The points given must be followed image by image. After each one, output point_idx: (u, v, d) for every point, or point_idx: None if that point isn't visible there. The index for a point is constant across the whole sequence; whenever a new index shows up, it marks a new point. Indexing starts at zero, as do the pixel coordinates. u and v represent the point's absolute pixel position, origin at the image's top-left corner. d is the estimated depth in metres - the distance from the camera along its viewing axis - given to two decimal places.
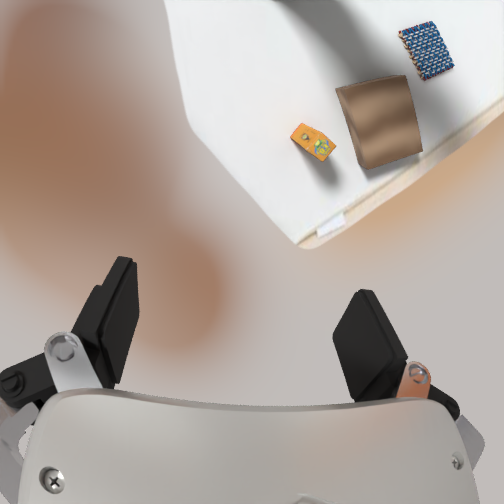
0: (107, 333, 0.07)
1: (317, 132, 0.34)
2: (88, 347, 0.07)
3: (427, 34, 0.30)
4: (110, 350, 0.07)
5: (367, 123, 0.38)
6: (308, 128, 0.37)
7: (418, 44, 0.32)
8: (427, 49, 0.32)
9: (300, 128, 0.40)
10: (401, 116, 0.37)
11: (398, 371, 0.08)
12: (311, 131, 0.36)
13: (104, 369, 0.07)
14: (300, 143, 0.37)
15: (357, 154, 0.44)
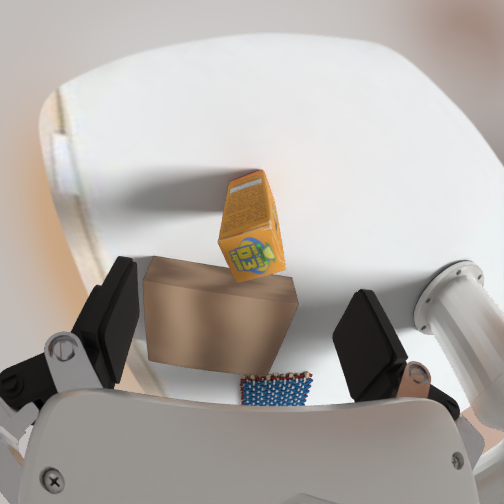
0: (107, 333, 0.07)
1: None
2: (88, 347, 0.07)
3: (293, 399, 0.40)
4: (110, 350, 0.07)
5: (224, 312, 0.25)
6: (278, 224, 0.20)
7: None
8: (277, 394, 0.39)
9: (273, 199, 0.22)
10: (212, 355, 0.29)
11: (398, 371, 0.08)
12: (280, 236, 0.18)
13: (104, 369, 0.07)
14: (269, 201, 0.17)
15: (171, 263, 0.26)
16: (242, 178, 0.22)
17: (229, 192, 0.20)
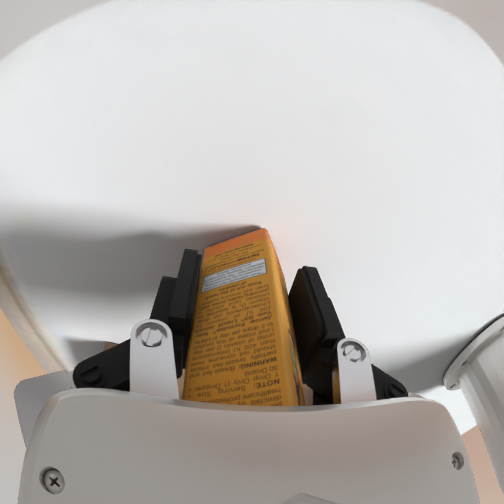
0: (192, 318, 0.08)
1: None
2: (171, 333, 0.08)
3: None
4: (190, 335, 0.09)
5: None
6: (297, 353, 0.10)
7: None
8: None
9: (284, 285, 0.12)
10: None
11: (334, 348, 0.09)
12: (303, 400, 0.08)
13: (183, 354, 0.09)
14: (286, 352, 0.07)
15: None
16: (227, 247, 0.12)
17: (202, 287, 0.11)
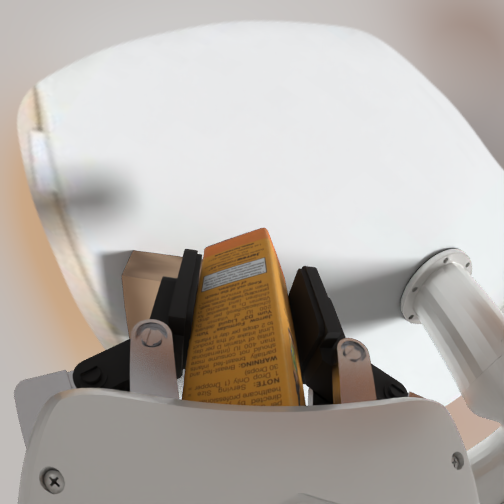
0: (192, 318, 0.08)
1: None
2: (171, 333, 0.08)
3: None
4: (190, 335, 0.09)
5: None
6: (297, 352, 0.10)
7: None
8: None
9: (284, 284, 0.12)
10: None
11: (334, 348, 0.09)
12: (303, 399, 0.08)
13: (183, 354, 0.09)
14: (286, 350, 0.07)
15: (150, 257, 0.25)
16: (228, 246, 0.12)
17: (202, 286, 0.11)
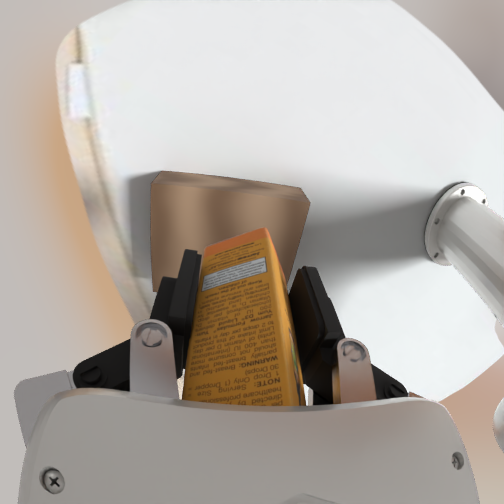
0: (192, 318, 0.08)
1: None
2: (171, 333, 0.08)
3: None
4: (190, 335, 0.09)
5: (235, 215, 0.25)
6: None
7: None
8: None
9: (284, 284, 0.12)
10: None
11: (334, 348, 0.09)
12: (304, 399, 0.08)
13: (183, 354, 0.09)
14: (287, 350, 0.07)
15: (179, 174, 0.25)
16: (228, 246, 0.12)
17: (202, 286, 0.10)
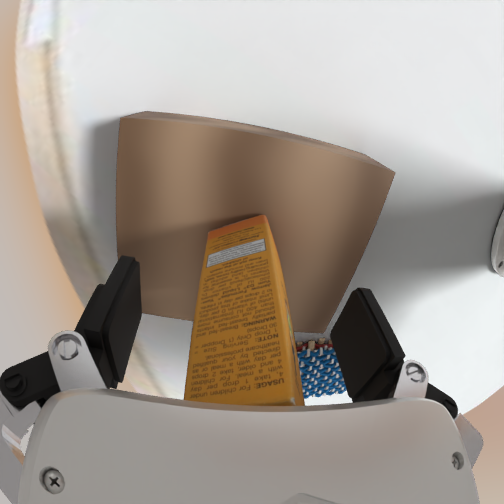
0: (111, 332, 0.07)
1: None
2: (92, 346, 0.07)
3: (339, 379, 0.28)
4: (114, 349, 0.07)
5: (270, 182, 0.13)
6: None
7: (337, 362, 0.26)
8: (320, 372, 0.27)
9: (280, 266, 0.14)
10: None
11: (395, 369, 0.08)
12: (298, 364, 0.09)
13: (107, 368, 0.07)
14: (284, 313, 0.08)
15: (174, 114, 0.14)
16: (230, 230, 0.13)
17: (207, 263, 0.12)
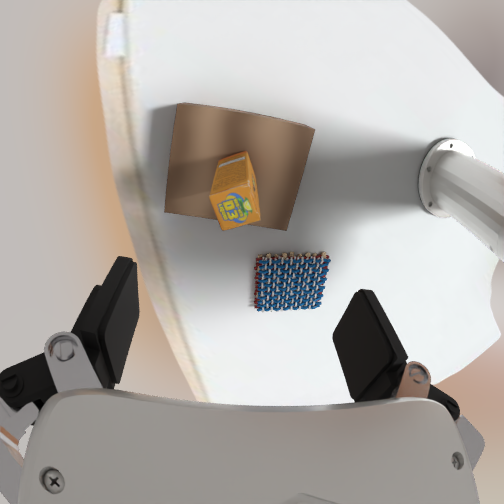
0: (107, 333, 0.07)
1: (259, 212, 0.21)
2: (88, 347, 0.07)
3: (309, 291, 0.41)
4: (110, 350, 0.07)
5: (249, 135, 0.26)
6: (257, 191, 0.24)
7: (305, 272, 0.39)
8: (293, 282, 0.40)
9: (254, 174, 0.27)
10: None
11: (398, 371, 0.08)
12: (257, 198, 0.22)
13: (104, 369, 0.07)
14: (249, 170, 0.22)
15: (200, 104, 0.27)
16: (229, 157, 0.27)
17: (218, 166, 0.25)
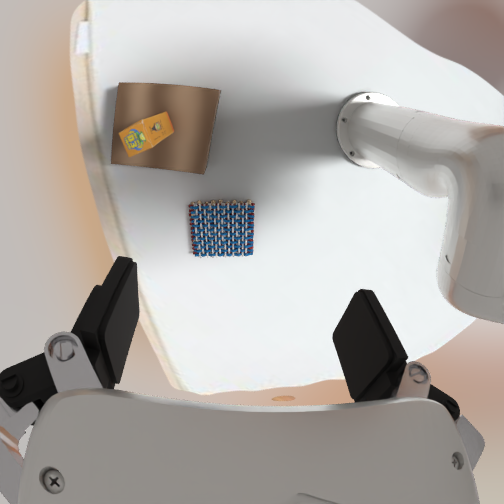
0: (107, 333, 0.07)
1: (154, 143, 0.26)
2: (88, 347, 0.07)
3: (239, 238, 0.46)
4: (110, 350, 0.07)
5: (168, 100, 0.32)
6: (164, 135, 0.30)
7: (232, 218, 0.44)
8: (223, 227, 0.45)
9: (169, 126, 0.32)
10: (159, 146, 0.35)
11: (398, 371, 0.08)
12: (158, 137, 0.28)
13: (104, 369, 0.07)
14: (152, 117, 0.27)
15: None
16: None
17: None
